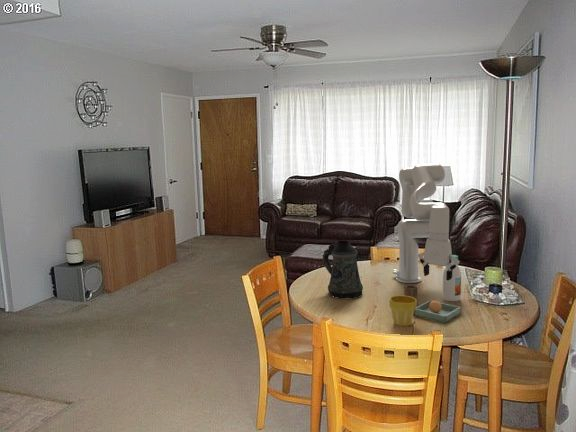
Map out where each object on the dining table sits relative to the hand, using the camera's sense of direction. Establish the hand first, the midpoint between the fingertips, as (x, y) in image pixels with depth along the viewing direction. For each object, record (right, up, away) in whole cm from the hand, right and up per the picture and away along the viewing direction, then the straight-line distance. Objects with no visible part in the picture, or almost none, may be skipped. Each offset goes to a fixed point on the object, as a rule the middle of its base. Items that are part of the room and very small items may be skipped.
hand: (437, 277), depth 195 cm
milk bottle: (+13, -13, +20) cm, 27 cm away
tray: (0, -16, +2) cm, 16 cm away
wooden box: (-6, -13, +18) cm, 23 cm away
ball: (0, -12, +2) cm, 13 cm away
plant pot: (-16, -17, -6) cm, 24 cm away
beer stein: (-35, -12, +33) cm, 49 cm away
